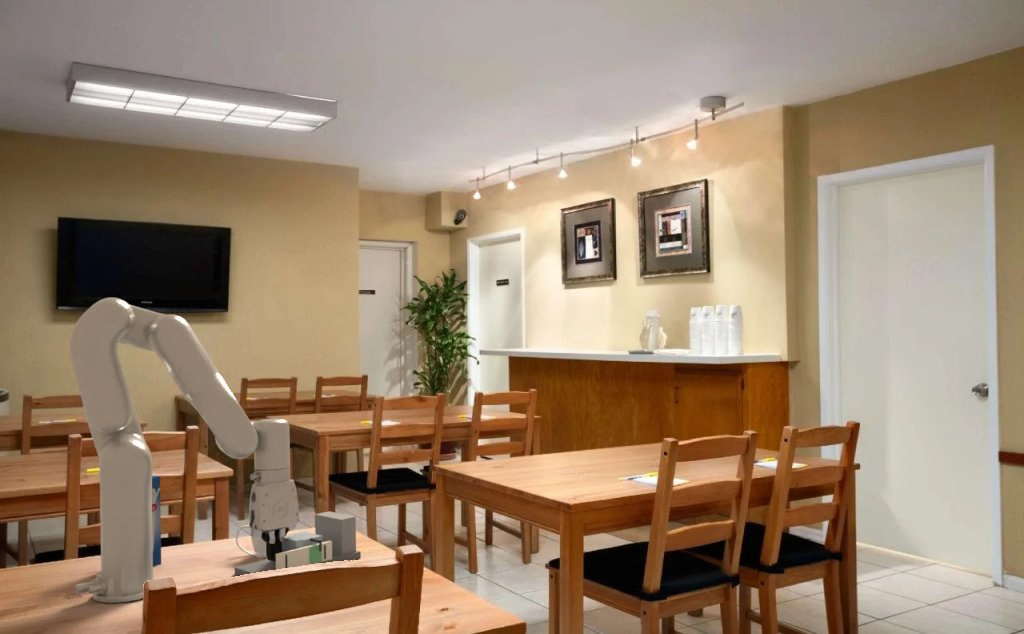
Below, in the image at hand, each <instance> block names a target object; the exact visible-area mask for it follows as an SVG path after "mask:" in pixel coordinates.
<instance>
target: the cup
mask: <svg viewBox="0 0 1024 634" xmlns="http://www.w3.org/2000/svg"><path fill="white" fill-rule="evenodd" d="M242 529H249V532H250V534H251V528H250V524H249V523H248V524H246V525H242V526H240V527H239V529H238V530H236V535H235V542H236V543H235V544H236V546H237V547H238V548H239V550H241V551H242V552H244V553H246V554H247V555H248V556H251V557H255V558H260V559H261V558H267V556H266V542H264V540H263V539H262V538H258V537H252V536H251V535H250V538H251V543H252V546H253V551H254V552H255V553H252V552H250V551H249V550H247V549H245V548H244V547H243V546H242V545H241V544H240V542H239V533H240V531H241V530H242Z"/></svg>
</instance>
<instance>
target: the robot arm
mask: <svg viewBox="0 0 1024 634" xmlns="http://www.w3.org/2000/svg"><path fill="white" fill-rule="evenodd" d="M118 344H123V345H126V346H131V347H134V348H136V349H137V348H138V349H140V350H141V349H142V350H146V351H150V352H155V353H156V355H157V357H158V358H159V360H160V361H161V363H162V364H163V365H164V367H165V369H166V370H167V373H168V374H169V376H170V377H171V379H172V380H173V382H174V383H175V385H176V386H177V388H178V389H179V391H180V392H181V394H182V395H183V396H184V398H185V399H186V400H187V402H188V403H189V404H190V405H191V406H192V407H193V408H194V409H195V410H196V411H197V412H198V414H199V415H200V416H201V418H202V419H203V421H204V422H205V424H206V425H207V427H208V428H209V430H210V431H211V433H212V435H213V436H214V440H215V444H216V446H217V448H218V449H219V450H220V451H221V452H222V453H224V454H225V455H226V456H228V457H230V458H231V459H233V460H234V459H235V460H242V459H246V458H248V457H250V456H251V455H253V458H254V460H253V462H254V470H253V473H251V474H250V475H249V479H250V480H251V481H253V482H254V483H252V486H251V489H250V496H249V497H250V498H249V506H248V507H249V508H248V525H249V524H250V528H251V533H250V537H251V536H252V537H258V538H262V539H263V540H264V542H266V556H267V557H266V559H268V560H270V561H273V562H276V554H277V553H282V541H284V539H285V536H286V535H287V534H288V533H289V532H290V531H293V530H295V528H297V525H298V523H299V521H300V509H299V508H300V507H299V499H298V492H297V487H296V484H295V480H294V479H291V450H290V449H291V447H290V445H291V444H290V443H291V442H290V439H291V438H290V424H289V422H288V420H286V419H285V418H265V419H260V420H250V419H249V417H248V415H247V414H246V412H245V411H244V409H243V407H242V406H241V404H240V403H239V402H238V400H237V398H236V397H235V395H234V394H233V392H232V390H231V389H230V388H229V386H228V384H227V383H226V381H225V379H224V378H223V376H222V374H221V373H220V371H219V370H218V368H217V367H216V365H215V364H214V361H213V360H212V359H211V357H210V355H209V354H208V352H207V351H206V349H205V347H204V346H203V345H202V343H201V342H200V340H199V338H198V336H197V335H196V333H195V331H194V330H193V328H192V327H191V325H190V324H189V322H187V320H186V319H185V318H184V317H182V316H180V315H177V314H171V313H170V314H165V313H160V312H156V311H152V310H149V309H146V308H142V307H139V306H135V305H132V304H129V303H128V302H127V301H125V300H123V299H121V298H118V297H105V298H102V299H100V300H98V301H97V302H95V303H93V304H92V305H91V306H90V307H89V308H88V309H86V310H85V311H84V312H83V314H82V315H81V316H80V317H79V319H78V320H77V321H76V323H75V325H74V327H73V329H72V332H71V336H70V340H69V356H70V357H69V359H70V362H71V367H72V370H73V374H74V377H75V380H76V381H75V382H76V384H77V389H78V392H79V394H80V397H81V398H80V399H81V402H82V407H83V414H84V415H83V416H84V418H85V420H86V421H87V425H88V428H89V433H90V434H91V438H92V441H93V444H94V447H95V450H96V453H97V456H98V460H99V461H98V462H99V501H100V503H99V509H100V511H99V513H100V515H99V516H100V517H99V518H100V573H96V574H95V578H94V579H92V580H91V581H89V582H82V583H77V584H75V587H74V590H75V593H76V595H80V594H85V593H87V594H88V595H90V594H92V598H93V600H94V601H96V602H98V603H99V602H100V603H105V604H106V603H108V604H109V603H110V604H115V603H127V602H134V601H139V600H142V598H143V584H144V582H145V581H147V580H154V566H153V545H152V476H153V467H154V466H153V457H152V453H151V449H150V448H149V446H148V445H147V442H146V439H145V436H144V433H143V429H142V426H141V423H140V420H139V416H138V414H137V410H136V403H135V401H134V398H133V396H132V394H131V393H130V391H129V387H128V385H127V383H126V379H125V376H124V372H123V368H122V365H121V362H120V358H119V354H118ZM143 599H144V598H143Z"/></svg>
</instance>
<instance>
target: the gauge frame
mask: <svg viewBox="0 0 1024 634" xmlns="http://www.w3.org/2000/svg"><path fill="white" fill-rule="evenodd" d="M314 522H315V523H314V528H315V531H314V532H315V533H314V534H317V535H321V536H322V551H319V543H318V544H314V545H310V546H306V547H302V548H298V549H294V550H290V551H286V552H282V553H277V554H276V562H273V561H270V560H268V559H267V558H266V559H262V560H258V561H255V562H249V563H247V564H242V565H238V566H235V567H234V575H236V576H239V575H244V574H250V573H256V572H262V571H268V570H276V569H282V568H289V567H297V566H302V565H309V564H315V563H326V562H333V561H344V560H352V561H354V560H353V559H356V560H359V559H361V557H362V556H361V553H362V552H361V551H359V550H357V531H356V530H357V529H356V528H357V527H356V523H357V522H356V516H354V515H350V514H349V515H348V514H345V513H344V514H343V513H338V512H333V511H330V510H329V511H323V512H319V513H315V514H314Z"/></svg>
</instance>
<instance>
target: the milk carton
mask: <svg viewBox="0 0 1024 634" xmlns="http://www.w3.org/2000/svg"><path fill="white" fill-rule="evenodd" d="M161 506H162V505H161V476H158V475H152V545H153V567H156V566H159V565H162V528H161V527H162V525H161V523H162V521H161V520H162V519H161V517H162V516H161V513H162V512H161Z"/></svg>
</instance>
